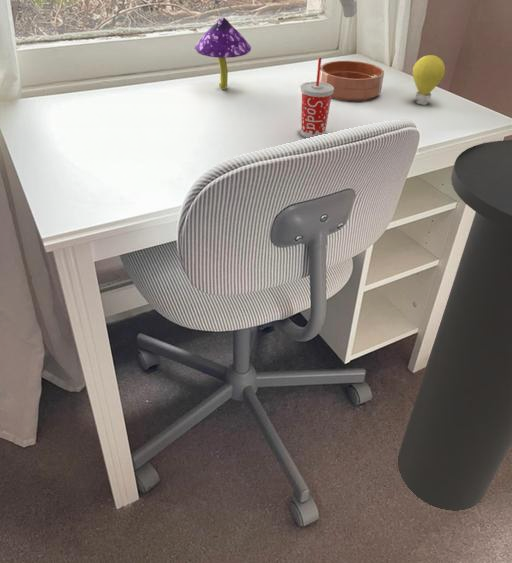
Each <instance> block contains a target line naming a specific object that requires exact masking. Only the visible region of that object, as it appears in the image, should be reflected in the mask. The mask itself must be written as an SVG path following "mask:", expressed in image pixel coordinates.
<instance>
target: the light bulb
mask: <svg viewBox="0 0 512 563" xmlns="http://www.w3.org/2000/svg"><path fill="white" fill-rule="evenodd" d="M445 67H446V66H445V63H444V61H443V60H442V58H440V57H439V56H437V55H434V54H427V55H424V56H422V57H420V58H419V59H417V61H416V62H415V63H414V65H413V68H412V78H413V81H414V84H415V86H416V89H417V91H416V93H415V98H416V104H418V105H422V106H423V105H424V106H425V105H428V102H429V100H431V99H432V98H431V97H432V93H431V92H432V91H434V89H435V88H436V87H437V86H438V85H439V84H440V82H441V81H442V80H443V79H444V77H445V73H446V68H445Z"/></svg>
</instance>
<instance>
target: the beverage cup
mask: <svg viewBox="0 0 512 563" xmlns="http://www.w3.org/2000/svg"><path fill="white" fill-rule="evenodd" d="M321 66H322V57H318V61H317V70H316V71H317V73H316V81H309V82H308V81H307V82H303V83H301V84H300V93H301V106H300V107H301V108H300V109H301V111H300V112H301V115H300V117H301V118H300V134H301V136H302V137H304V138H306V139H310V138H309V137H314V136H318V135H322V134H325V135H326V130H327V124H328V118H329V114H330V106H331V101H332V97H331V96H332V94H333V90H334V87H333V86H332V85H330V84H327V83H323V82H319V77H320V67H321Z"/></svg>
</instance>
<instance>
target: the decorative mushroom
mask: <svg viewBox="0 0 512 563" xmlns="http://www.w3.org/2000/svg"><path fill="white" fill-rule="evenodd" d="M194 50H195V51H196V53H197V54H199V55H202V56H206V57H209V58H217V62H218V65H219V73H220V74H219V75H220V76H219V84H218V87H219V88H220V89H223V90H224V89H227V88H228V79H229V78H228V75H229V74H228V73H229V71H228V70H229V69H228V64H227V58H238V57H239V58H240V57H243V56H245V55H247V54H249V53H250V52H251V50H252V46H251V45H250V44H249V42H248V41H247V40H246V39H245V37H244V36H243V35H242V34H241V33H240V32H239V31H238V30H237V29H236V28H235V27H234V26H233V25H232V24H231V23H230V21H229V20H227V19H226V17H220V18H218V19H217V21H216V22H215V23H214V24H213V25H211V27H209V29H208V30H207V31H205V33H203V35H202V36H201V37H200V38H199V40H198V42H197V43H196V44H195V46H194Z"/></svg>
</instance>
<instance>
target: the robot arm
mask: <svg viewBox="0 0 512 563" xmlns="http://www.w3.org/2000/svg"><path fill="white" fill-rule="evenodd" d="M339 2H340V4H341V6H342V14H343V17H345V18H352V17H355V15H356V14H357V12H358V8H357V1H355V0H339Z"/></svg>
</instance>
